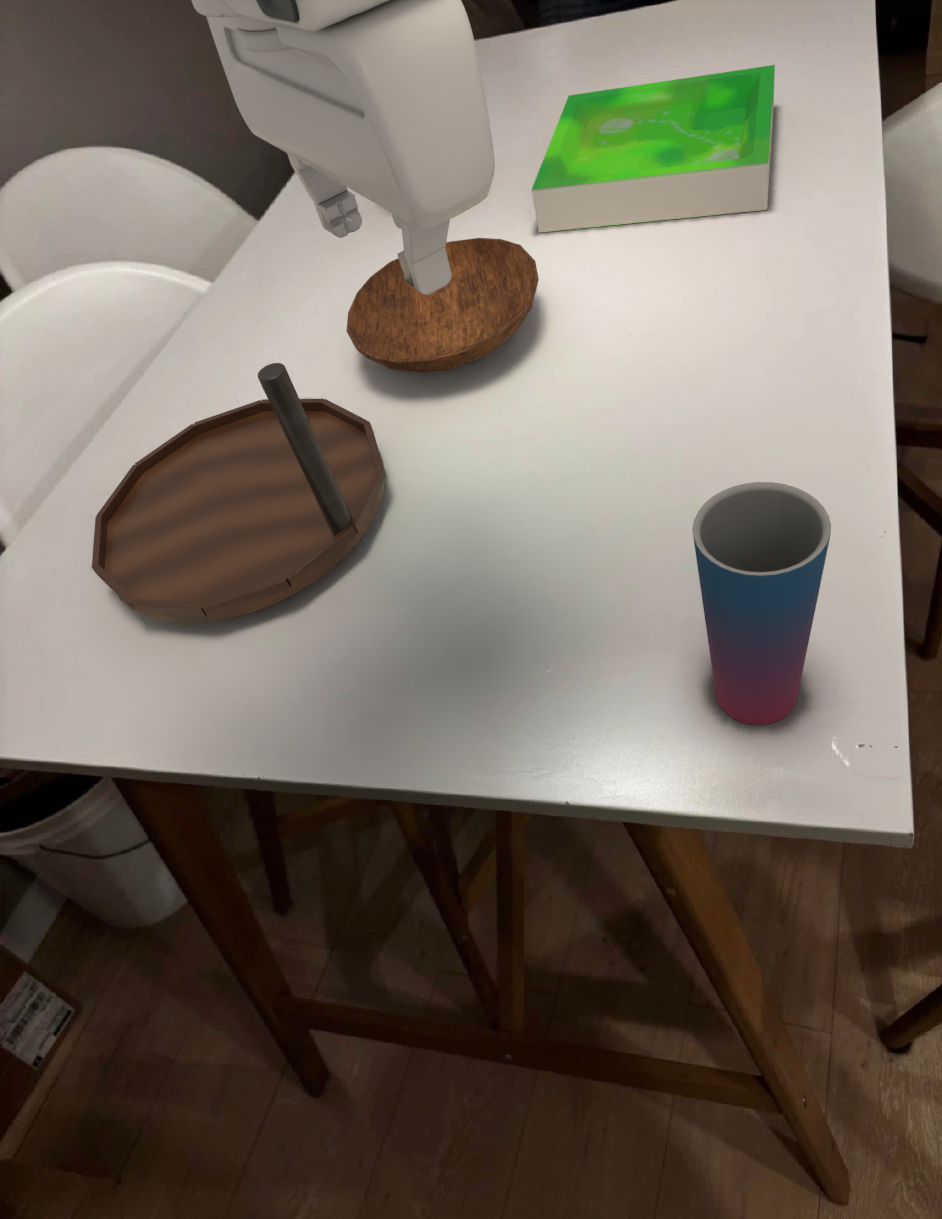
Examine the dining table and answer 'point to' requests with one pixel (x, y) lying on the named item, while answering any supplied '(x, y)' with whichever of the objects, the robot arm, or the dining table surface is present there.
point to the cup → (760, 593)
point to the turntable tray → (240, 507)
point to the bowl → (445, 308)
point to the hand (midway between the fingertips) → (384, 255)
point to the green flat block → (659, 152)
